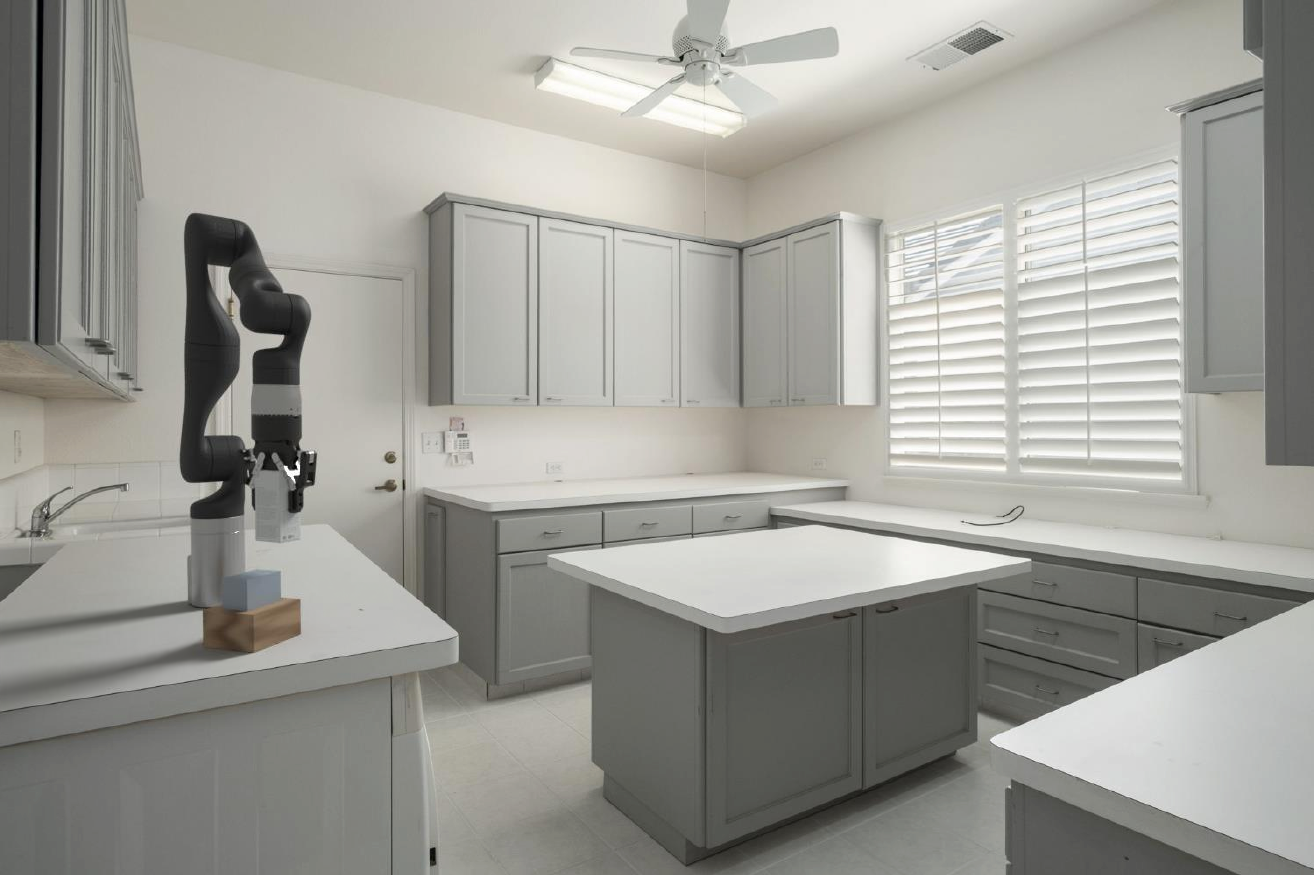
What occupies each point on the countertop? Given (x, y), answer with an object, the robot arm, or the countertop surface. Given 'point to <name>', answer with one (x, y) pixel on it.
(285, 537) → the skincare box
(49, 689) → the countertop surface
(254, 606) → the slate brick
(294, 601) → the walnut block
